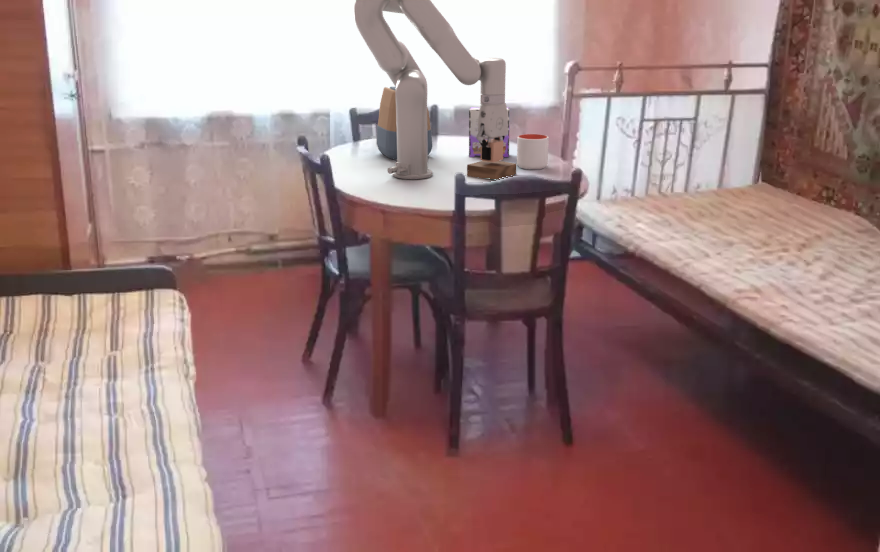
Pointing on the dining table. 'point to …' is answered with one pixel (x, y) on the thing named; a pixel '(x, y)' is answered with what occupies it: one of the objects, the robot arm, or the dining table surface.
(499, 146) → the brick
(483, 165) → the plinth
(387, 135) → the tan two-tone rounded container
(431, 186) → the dining table surface
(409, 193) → the dining table surface
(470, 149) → the candy box
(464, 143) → the dining table surface
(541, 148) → the cup
